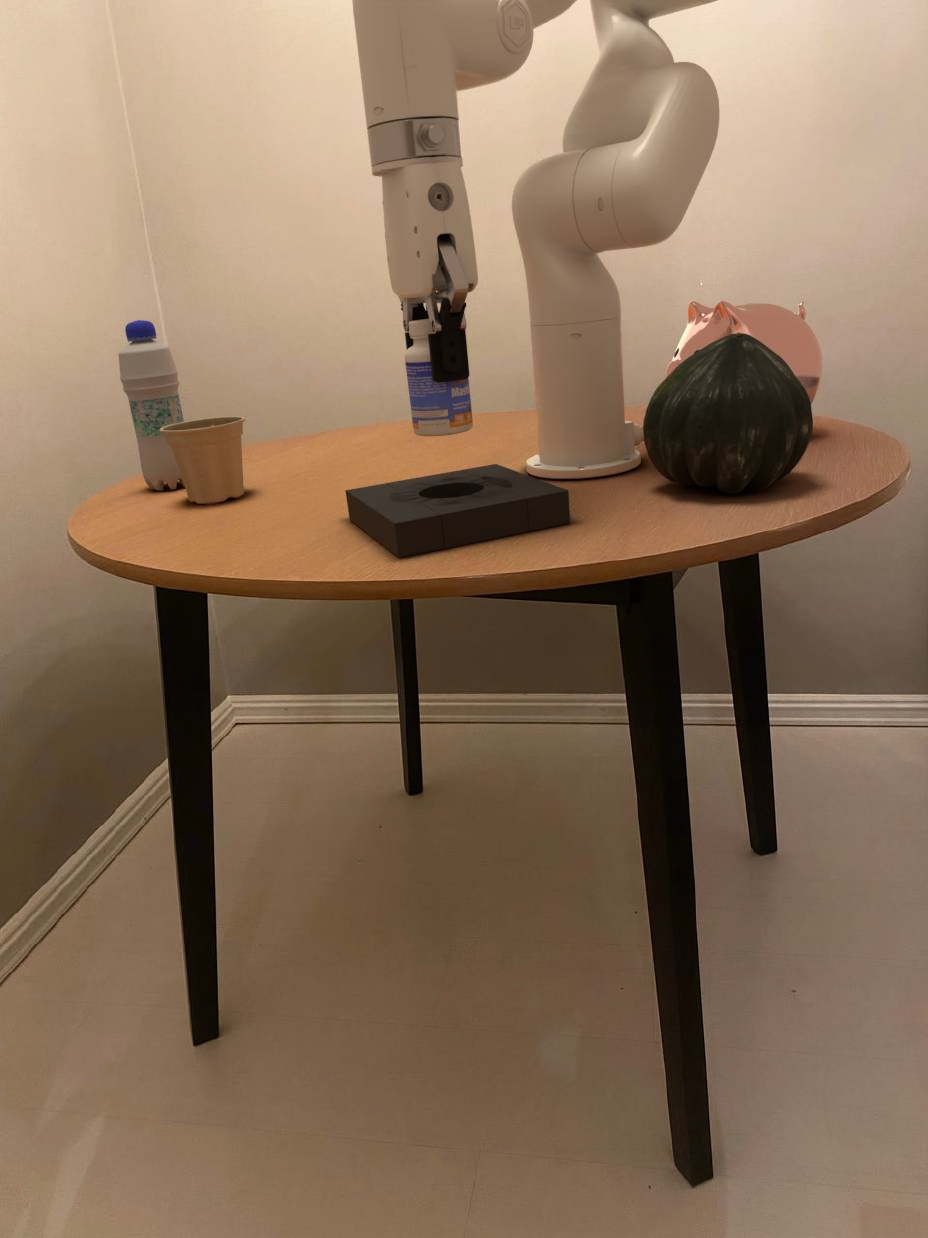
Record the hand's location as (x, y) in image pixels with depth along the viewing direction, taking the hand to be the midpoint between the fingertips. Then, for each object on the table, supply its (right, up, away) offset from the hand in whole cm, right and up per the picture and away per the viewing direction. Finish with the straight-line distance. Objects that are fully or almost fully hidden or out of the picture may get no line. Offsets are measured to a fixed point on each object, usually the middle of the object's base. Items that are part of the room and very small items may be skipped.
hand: (438, 376), depth 83 cm
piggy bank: (+35, 0, +28) cm, 45 cm away
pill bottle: (0, -5, +2) cm, 5 cm away
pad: (+1, -12, +5) cm, 13 cm away
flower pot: (-26, -8, +26) cm, 38 cm away
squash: (+28, -9, +8) cm, 30 cm away
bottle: (-34, -5, +35) cm, 49 cm away
